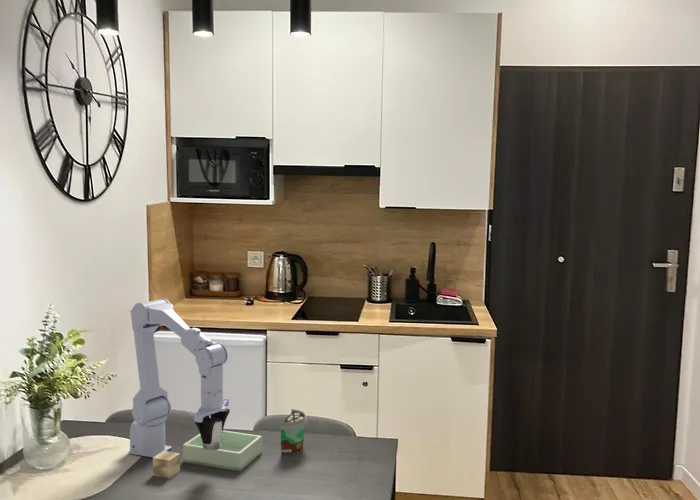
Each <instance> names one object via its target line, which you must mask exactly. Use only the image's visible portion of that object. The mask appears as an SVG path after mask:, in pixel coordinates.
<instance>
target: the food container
mask: <svg viewBox="0 0 700 500" xmlns="http://www.w3.org/2000/svg"><path fill="white" fill-rule="evenodd" d="M307 424H308V418H307V415H306V413H305V412H303V411H301V410H299V409H291V412H290V414H289V415H288V416H286V418H285V419H284V421H280V425H279V431H280V453H281V454H292V455H294V454H293V453H296V454H298V453H297V452H299V453H301V452H302V451H303V450H304V440H305V428H306V427H305V426H306V425H307ZM302 449H303V450H302ZM301 450H302V451H301ZM300 451H301V452H300Z"/></svg>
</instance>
